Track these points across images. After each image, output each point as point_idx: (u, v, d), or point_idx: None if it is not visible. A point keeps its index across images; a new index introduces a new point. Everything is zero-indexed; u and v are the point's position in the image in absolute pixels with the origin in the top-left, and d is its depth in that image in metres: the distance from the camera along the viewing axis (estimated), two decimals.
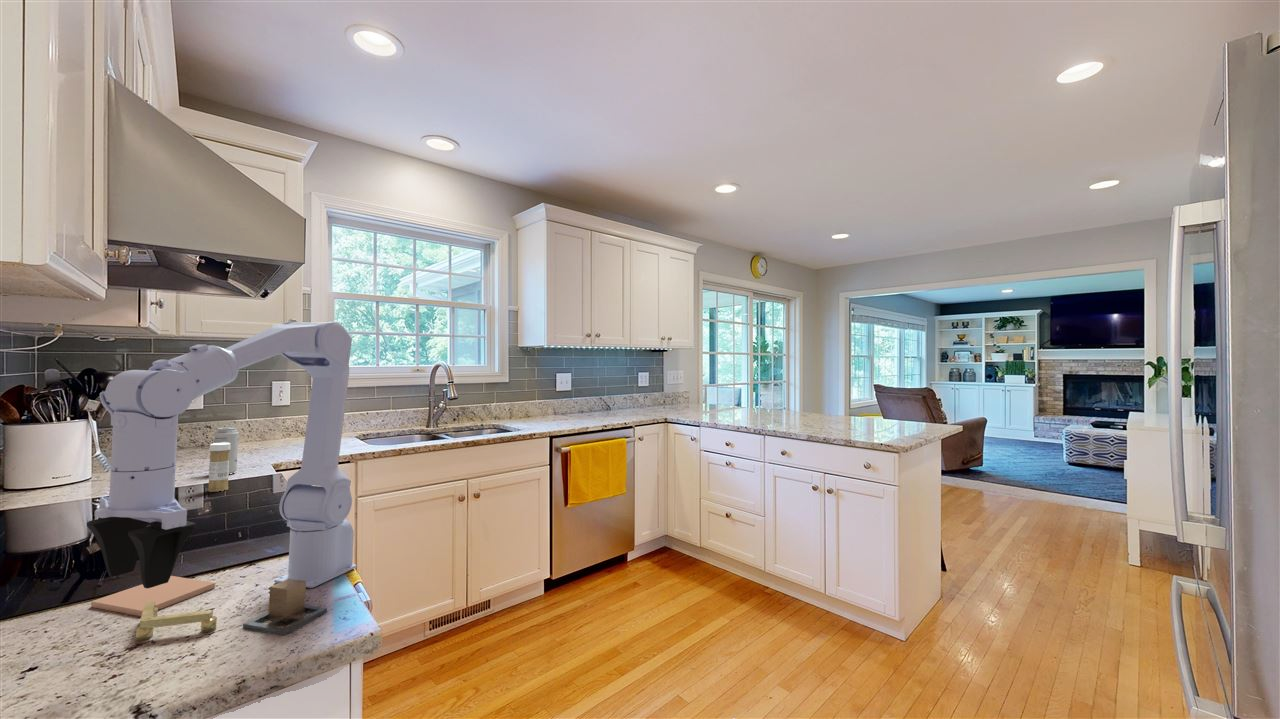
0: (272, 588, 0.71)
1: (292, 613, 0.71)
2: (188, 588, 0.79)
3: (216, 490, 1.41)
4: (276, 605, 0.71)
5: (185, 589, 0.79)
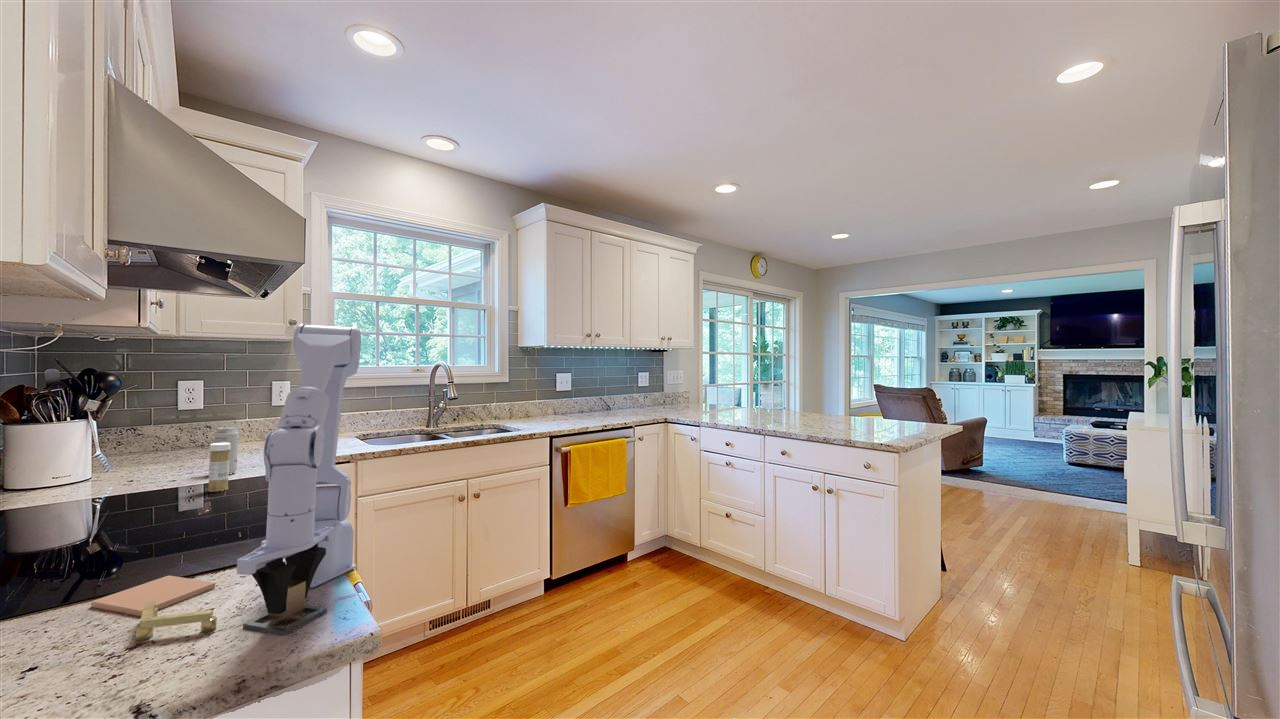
0: None
1: (292, 613, 0.71)
2: (188, 588, 0.79)
3: (216, 490, 1.41)
4: None
5: (185, 589, 0.79)
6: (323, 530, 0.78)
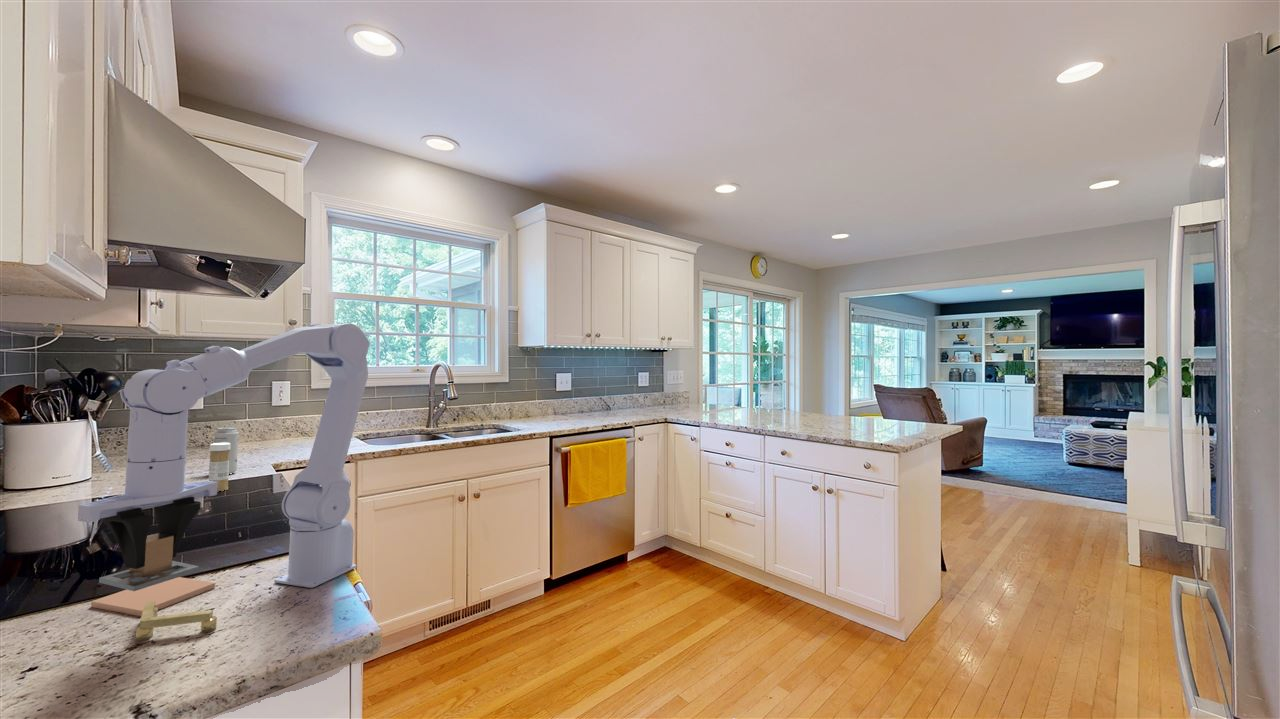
0: None
1: (154, 569, 0.66)
2: (188, 588, 0.79)
3: None
4: None
5: (185, 589, 0.79)
6: (204, 484, 0.73)
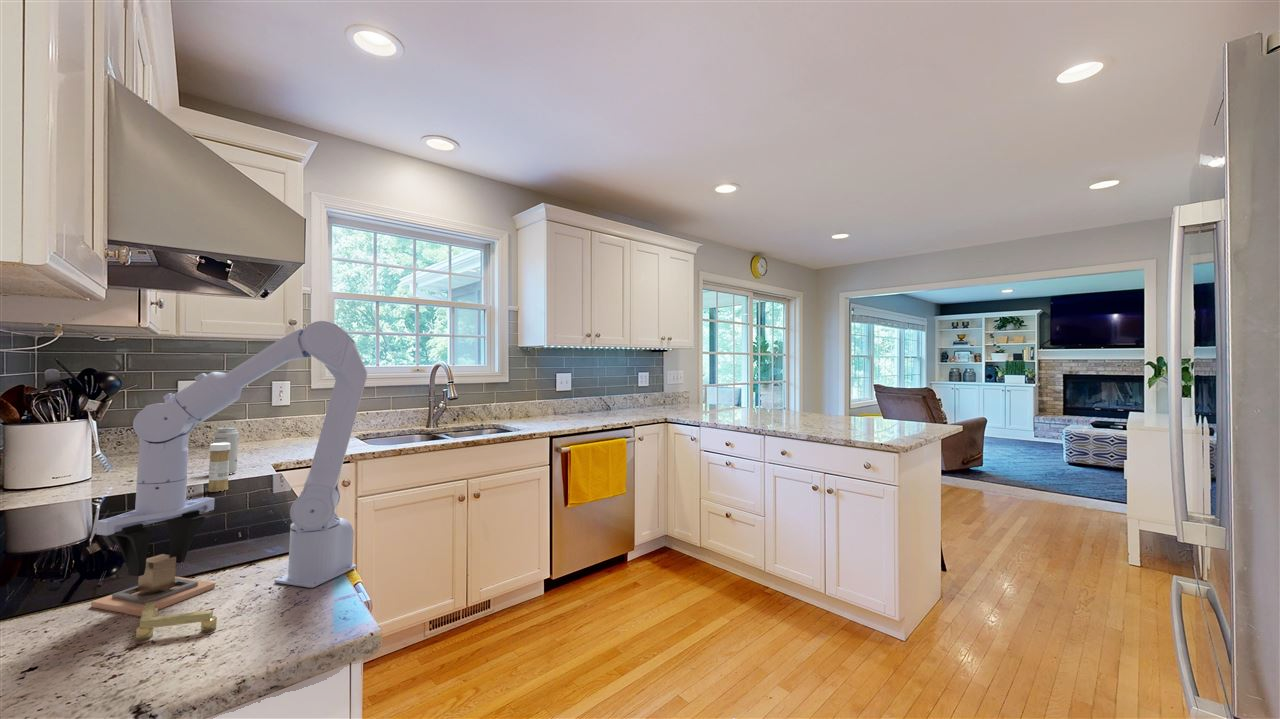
0: None
1: (160, 585, 0.77)
2: None
3: (216, 490, 1.41)
4: (144, 578, 0.76)
5: None
6: (203, 500, 0.84)
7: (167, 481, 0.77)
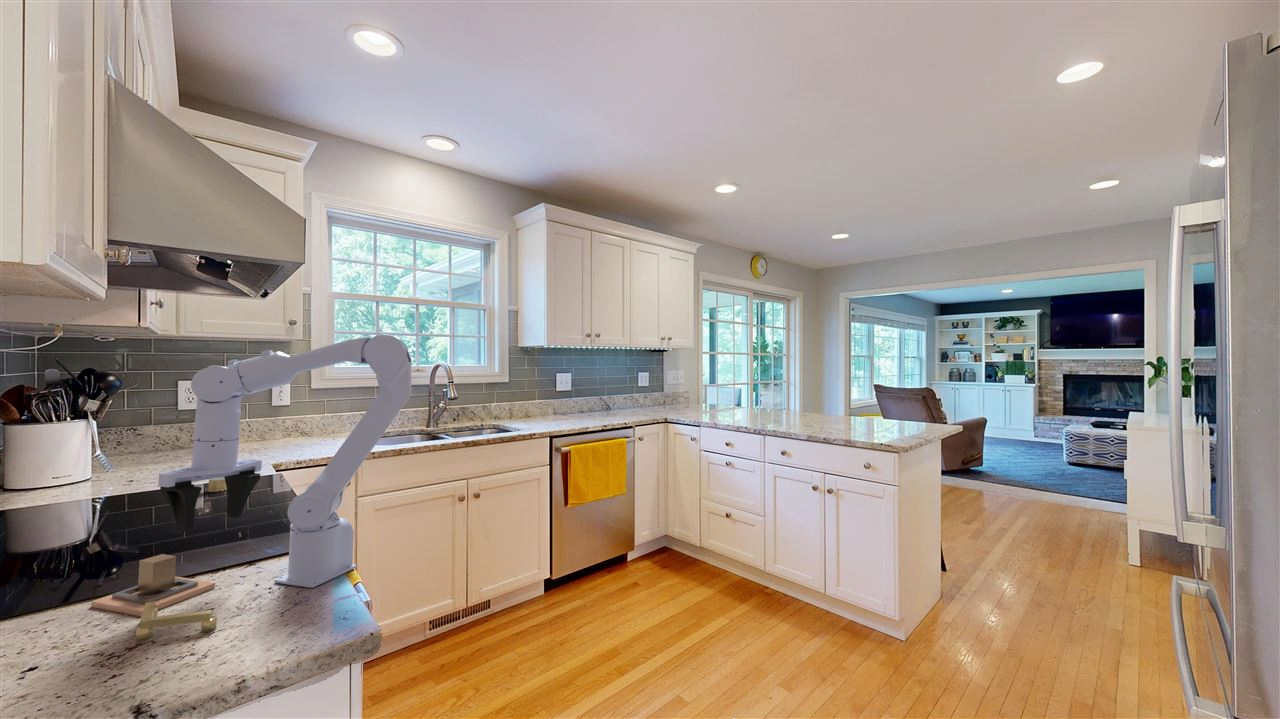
0: (141, 562, 0.77)
1: (160, 585, 0.77)
2: None
3: (216, 490, 1.41)
4: (144, 578, 0.76)
5: None
6: (251, 461, 0.88)
7: (222, 440, 0.81)
